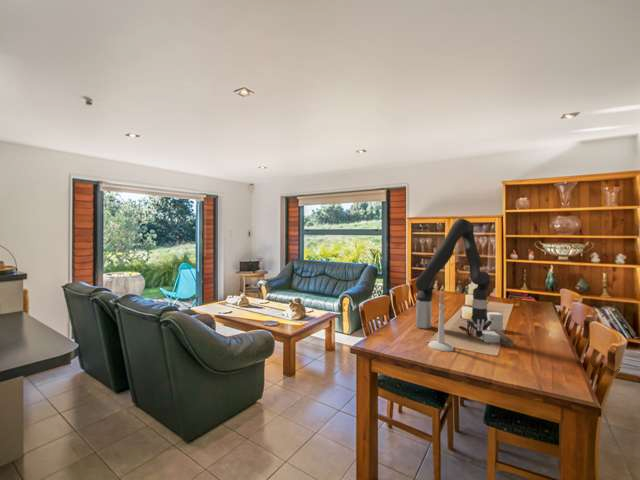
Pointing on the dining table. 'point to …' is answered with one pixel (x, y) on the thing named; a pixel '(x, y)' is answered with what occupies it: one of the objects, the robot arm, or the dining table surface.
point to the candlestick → (441, 331)
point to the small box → (495, 320)
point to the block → (490, 336)
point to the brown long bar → (503, 338)
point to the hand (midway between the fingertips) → (478, 336)
